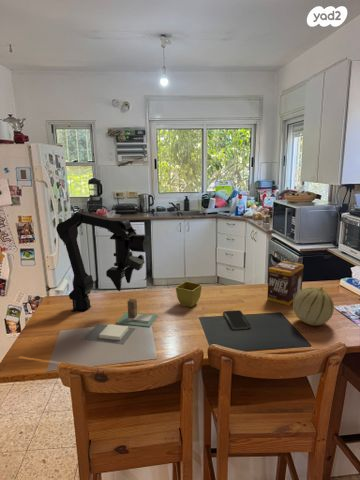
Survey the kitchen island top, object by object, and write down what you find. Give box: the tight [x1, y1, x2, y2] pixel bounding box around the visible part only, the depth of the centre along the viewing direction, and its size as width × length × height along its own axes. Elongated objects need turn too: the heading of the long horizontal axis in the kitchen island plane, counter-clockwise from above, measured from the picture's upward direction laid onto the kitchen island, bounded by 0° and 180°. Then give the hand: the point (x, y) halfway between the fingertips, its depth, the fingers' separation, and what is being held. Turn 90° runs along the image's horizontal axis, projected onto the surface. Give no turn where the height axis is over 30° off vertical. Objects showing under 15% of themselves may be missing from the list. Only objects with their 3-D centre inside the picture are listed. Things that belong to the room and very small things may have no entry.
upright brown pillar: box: [126, 298, 152, 323], centre depth 134 cm, size 9×5×8 cm, turn 76°
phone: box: [222, 309, 252, 331], centre depth 135 cm, size 8×1×15 cm
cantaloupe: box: [292, 286, 335, 326], centre depth 130 cm, size 15×15×15 cm
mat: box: [81, 323, 137, 345], centre depth 125 cm, size 16×12×1 cm
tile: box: [99, 323, 130, 340], centre depth 124 cm, size 2×8×8 cm
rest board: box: [115, 311, 158, 328], centre depth 136 cm, size 14×10×1 cm
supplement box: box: [267, 260, 305, 306], centre depth 155 cm, size 10×15×16 cm
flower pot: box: [175, 281, 203, 308], centre depth 150 cm, size 9×9×9 cm
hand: (123, 286), depth 138 cm, fingers open, 9 cm apart
